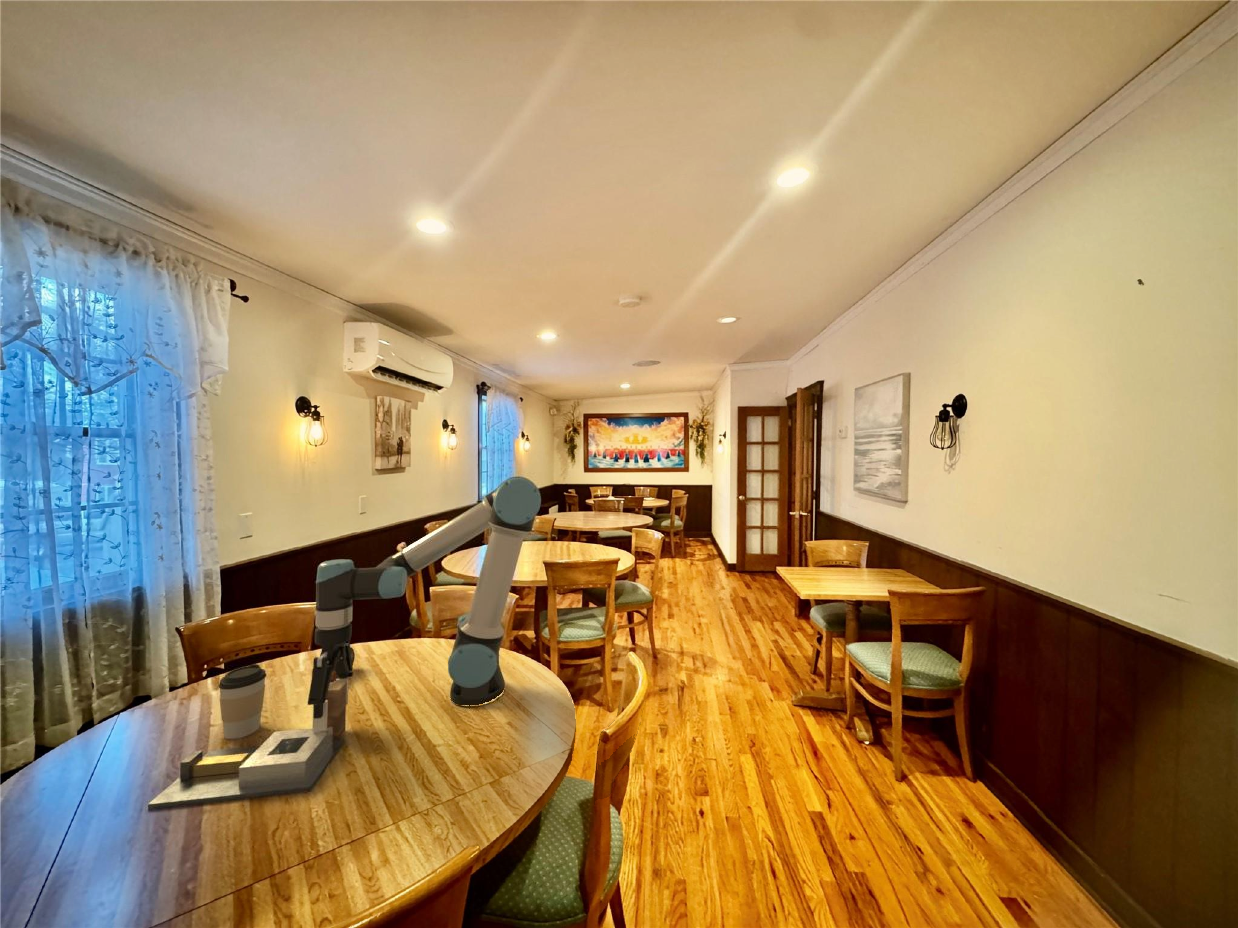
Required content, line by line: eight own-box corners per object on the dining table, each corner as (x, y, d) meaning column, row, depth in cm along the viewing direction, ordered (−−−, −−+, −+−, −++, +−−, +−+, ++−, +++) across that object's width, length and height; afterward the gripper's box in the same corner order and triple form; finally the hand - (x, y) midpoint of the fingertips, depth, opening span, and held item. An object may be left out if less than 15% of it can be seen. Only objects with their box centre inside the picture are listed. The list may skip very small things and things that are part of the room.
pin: (250, 762, 95) (250, 745, 95) (238, 773, 91) (239, 756, 91) (193, 767, 93) (194, 751, 93) (180, 779, 89) (180, 762, 89)
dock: (345, 741, 104) (345, 720, 104) (310, 791, 88) (310, 766, 88) (210, 754, 99) (210, 732, 99) (148, 809, 83) (148, 783, 83)
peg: (346, 729, 108) (346, 681, 108) (338, 740, 104) (339, 689, 104) (327, 731, 108) (328, 682, 108) (319, 742, 104) (319, 690, 104)
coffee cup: (237, 744, 102) (238, 680, 103) (207, 739, 104) (208, 676, 104) (274, 722, 111) (275, 663, 111) (246, 717, 113) (247, 660, 113)
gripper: (338, 610, 116) (335, 694, 116) (290, 643, 94) (286, 747, 93) (368, 609, 118) (366, 692, 117) (328, 641, 95) (325, 743, 95)
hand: (331, 716), depth 105 cm, fingers open, 10 cm apart
